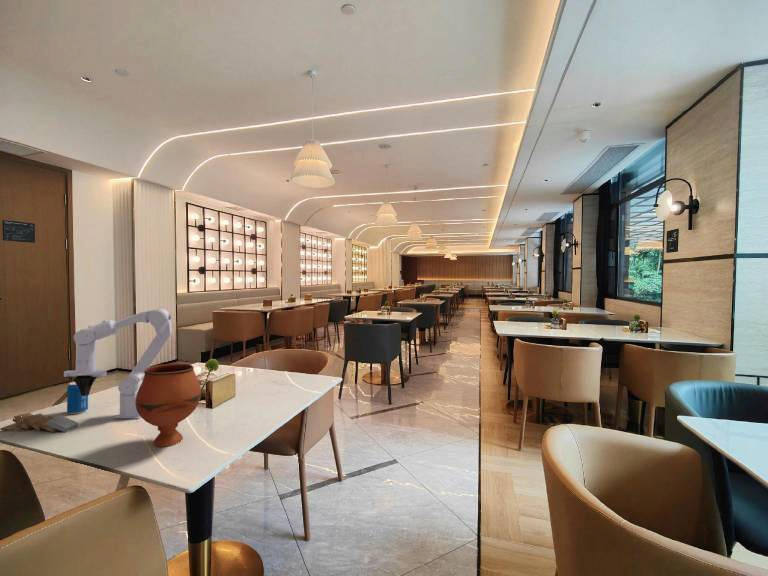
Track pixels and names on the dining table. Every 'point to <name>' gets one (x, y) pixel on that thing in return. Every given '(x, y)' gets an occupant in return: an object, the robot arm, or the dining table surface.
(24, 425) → the walnut tile
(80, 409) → the beverage can
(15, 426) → the walnut end tile
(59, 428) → the slate head tile
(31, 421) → the walnut tile
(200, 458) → the dining table surface
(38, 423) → the walnut tile
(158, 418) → the goblet
